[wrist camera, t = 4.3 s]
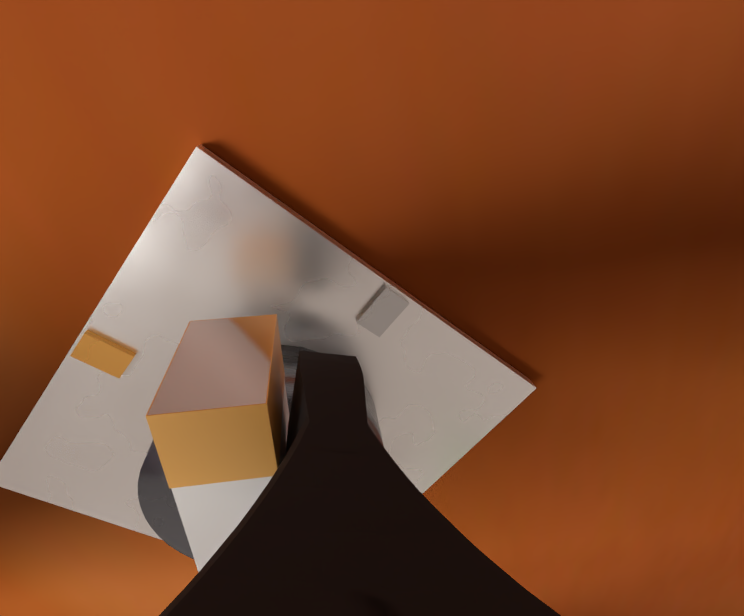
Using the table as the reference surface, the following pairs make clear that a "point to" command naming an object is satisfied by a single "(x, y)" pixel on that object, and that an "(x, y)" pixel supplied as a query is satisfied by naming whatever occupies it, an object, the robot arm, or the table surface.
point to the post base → (241, 299)
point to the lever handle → (221, 424)
